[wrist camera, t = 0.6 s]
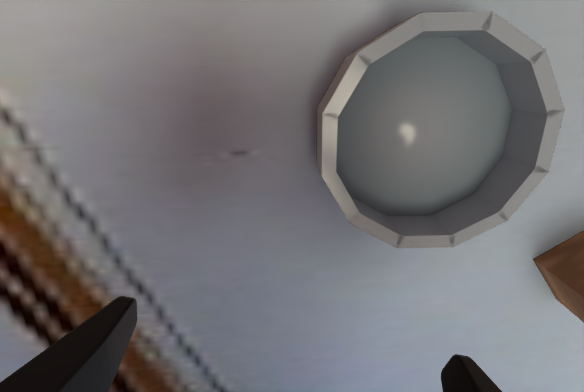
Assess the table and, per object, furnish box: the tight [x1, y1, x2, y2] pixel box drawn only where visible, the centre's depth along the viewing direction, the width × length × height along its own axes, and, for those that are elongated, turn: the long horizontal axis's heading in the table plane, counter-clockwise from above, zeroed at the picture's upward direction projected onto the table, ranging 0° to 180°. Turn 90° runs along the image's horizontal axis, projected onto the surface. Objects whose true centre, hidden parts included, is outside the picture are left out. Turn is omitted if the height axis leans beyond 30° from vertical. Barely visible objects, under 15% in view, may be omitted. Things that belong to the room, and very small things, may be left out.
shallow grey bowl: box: [317, 11, 565, 248], centre depth 20 cm, size 13×13×4 cm
